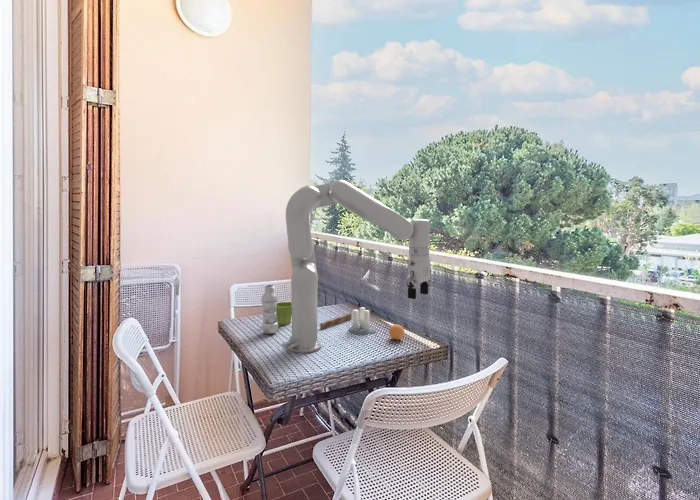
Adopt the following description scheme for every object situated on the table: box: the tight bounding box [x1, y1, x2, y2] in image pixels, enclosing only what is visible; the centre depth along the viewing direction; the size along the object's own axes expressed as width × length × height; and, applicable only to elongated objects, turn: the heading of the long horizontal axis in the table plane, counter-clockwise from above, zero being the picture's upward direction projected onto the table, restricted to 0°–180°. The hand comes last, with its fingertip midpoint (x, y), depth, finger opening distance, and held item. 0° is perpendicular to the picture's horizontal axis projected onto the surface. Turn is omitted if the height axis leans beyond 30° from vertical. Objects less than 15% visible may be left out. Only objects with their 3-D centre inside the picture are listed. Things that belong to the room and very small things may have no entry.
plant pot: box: [276, 301, 292, 326], centre depth 174 cm, size 9×9×9 cm
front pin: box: [363, 309, 370, 332], centre depth 164 cm, size 2×2×9 cm
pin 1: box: [351, 309, 359, 331], centre depth 165 cm, size 2×2×9 cm
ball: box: [388, 323, 405, 341], centre depth 155 cm, size 6×6×6 cm
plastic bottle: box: [261, 284, 279, 335], centre depth 159 cm, size 6×7×20 cm
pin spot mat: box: [347, 325, 377, 336], centre depth 166 cm, size 12×12×1 cm
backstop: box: [319, 313, 353, 330], centre depth 175 cm, size 20×2×2 cm, turn 142°
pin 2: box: [358, 306, 366, 328], centre depth 168 cm, size 2×2×9 cm
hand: (418, 296), depth 148 cm, fingers open, 9 cm apart
